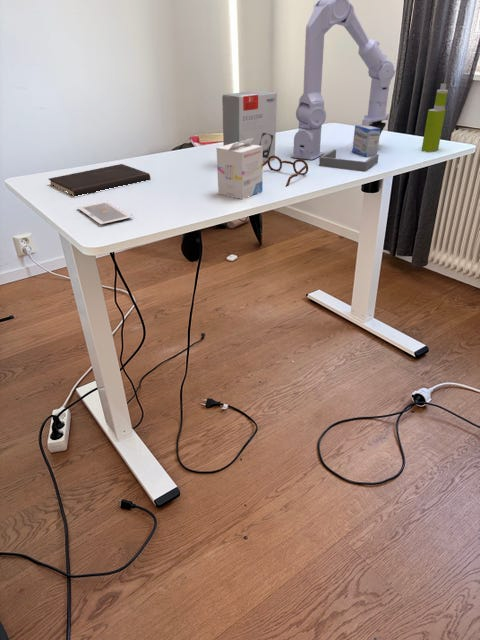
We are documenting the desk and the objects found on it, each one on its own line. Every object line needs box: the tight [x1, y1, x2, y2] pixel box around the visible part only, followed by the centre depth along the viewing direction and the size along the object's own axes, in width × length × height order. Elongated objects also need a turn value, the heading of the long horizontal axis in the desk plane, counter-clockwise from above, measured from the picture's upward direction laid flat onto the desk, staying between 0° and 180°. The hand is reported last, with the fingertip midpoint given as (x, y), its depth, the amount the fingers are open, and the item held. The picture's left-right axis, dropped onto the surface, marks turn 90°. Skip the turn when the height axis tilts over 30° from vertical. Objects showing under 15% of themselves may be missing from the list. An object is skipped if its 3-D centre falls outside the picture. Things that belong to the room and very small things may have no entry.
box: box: [318, 149, 380, 172], centre depth 149 cm, size 11×15×2 cm
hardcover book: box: [48, 163, 152, 197], centre depth 137 cm, size 16×23×2 cm
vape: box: [421, 83, 449, 153], centre depth 158 cm, size 4×6×20 cm, turn 126°
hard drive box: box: [221, 90, 278, 163], centre depth 149 cm, size 16×8×20 cm, turn 129°
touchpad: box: [76, 200, 134, 225], centre depth 114 cm, size 8×15×2 cm, turn 36°
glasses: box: [263, 155, 309, 188], centre depth 137 cm, size 13×13×5 cm
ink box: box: [216, 138, 264, 200], centre depth 123 cm, size 9×8×13 cm
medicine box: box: [351, 124, 381, 158], centre depth 158 cm, size 8×4×9 cm, turn 25°
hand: (372, 145), depth 165 cm, fingers closed
